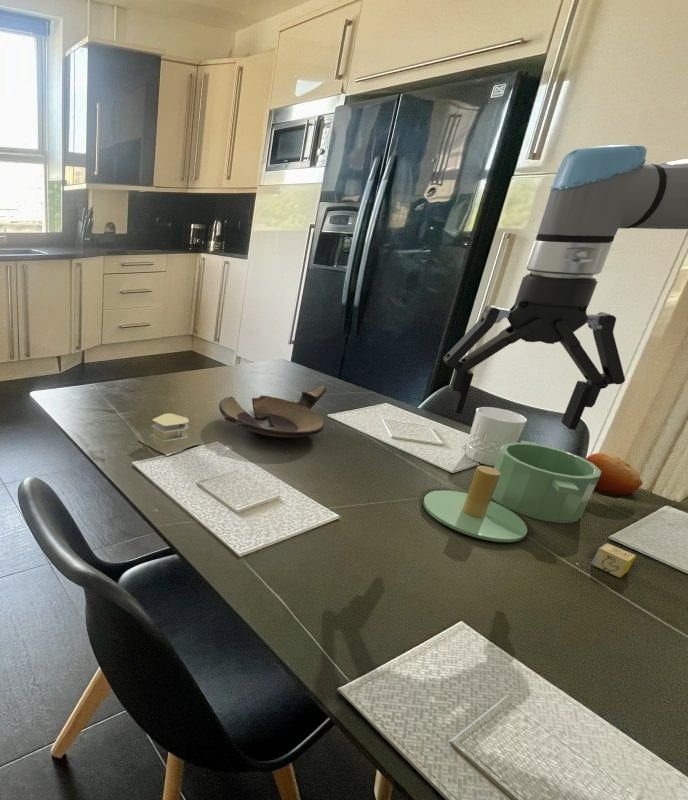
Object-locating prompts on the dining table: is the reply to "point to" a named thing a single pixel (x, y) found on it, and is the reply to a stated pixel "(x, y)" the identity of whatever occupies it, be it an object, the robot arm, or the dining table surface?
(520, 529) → the lid
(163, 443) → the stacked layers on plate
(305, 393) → the broken brown bowl
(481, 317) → the robot arm
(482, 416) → the white cup
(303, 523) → the dining table surface
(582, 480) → the pot
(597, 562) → the alphabet block
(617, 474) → the fruit
